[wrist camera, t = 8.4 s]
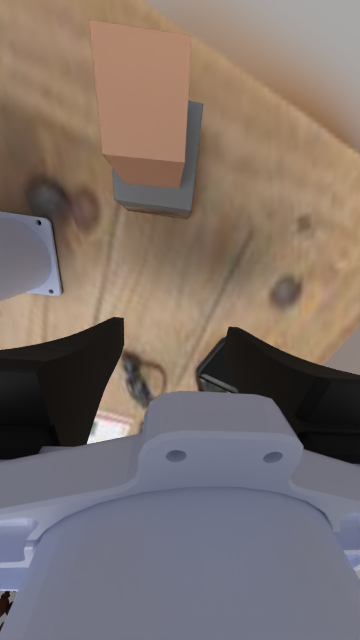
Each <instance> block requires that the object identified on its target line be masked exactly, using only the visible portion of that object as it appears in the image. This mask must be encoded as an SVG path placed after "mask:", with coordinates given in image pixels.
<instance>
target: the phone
mask: <svg viewBox="0 0 360 640" xmlns="http://www.w3.org/2000/svg"><path fill="white" fill-rule="evenodd" d="M225 340H226V337H224V338H222V339H221V340H220V341H219V342H218V343H217V344H218V345H217V344H216V346H215V347H214V348H213V349H212V350H211V352H212V353H211V352H210V353H211V354H210V353H209V354H208V355H207V356H206V358H205V359H204V360H203V361H202V362H201V364H200V365H199V366H198V367H197V370H196V371H197V375H198V377H199V378H201V379H203V380H205V381H207V382H209V383H211V384H214V385H216V386H218V387H220V388H222V389H224V390H226V391H228V392H230V393H236V394H239V393H238V390H237V388H236V386H235V383H234V381H233V379H232V377H231V374H230V372H229V370H228V367H227V365H226V363H225V359H224V355H223V347H224V343H225Z"/></svg>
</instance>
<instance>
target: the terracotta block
mask: <svg viewBox="0 0 360 640" xmlns="http://www.w3.org/2000/svg"><path fill="white" fill-rule="evenodd" d="M89 21H90V31H91V42H92V52H93V62H94V72H95V83H96V93H97V103H98V113H99V124H100V134H101V144H102V154H103V156H104V157H105V158H106V159H107V161H108V162H109V163H110V165H111V166H112V167H113V168H114V170H115V171H116V172H117V174H118V175H119V176H120V177H121V179H122V180H123V181H124V183H125V184H130V185H141V186H153V187H164V188H176V189H179V187H180V183H181V178H182V173H183V168H184V163H185V147H186V128H187V110H188V92H189V73H190V55H191V37H192V36H189V35H183V34H176V33H170V32H164V31H157V30H151V29H145V28H138V27H132V26H126V25H119V24H113V23H107V22H100V21H94V20H89Z"/></svg>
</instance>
